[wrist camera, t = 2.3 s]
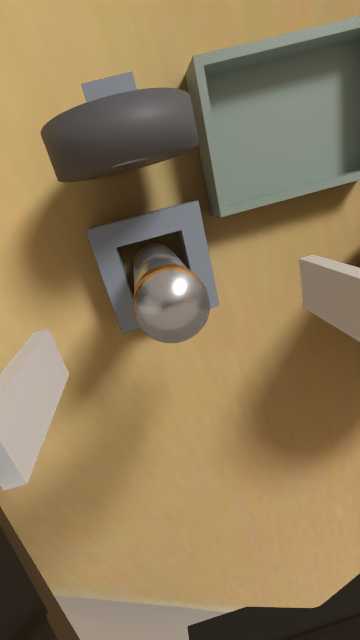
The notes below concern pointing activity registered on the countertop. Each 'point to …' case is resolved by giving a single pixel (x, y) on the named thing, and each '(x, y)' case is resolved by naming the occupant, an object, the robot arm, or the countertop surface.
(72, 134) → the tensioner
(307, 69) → the tray
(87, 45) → the countertop surface
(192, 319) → the pin
